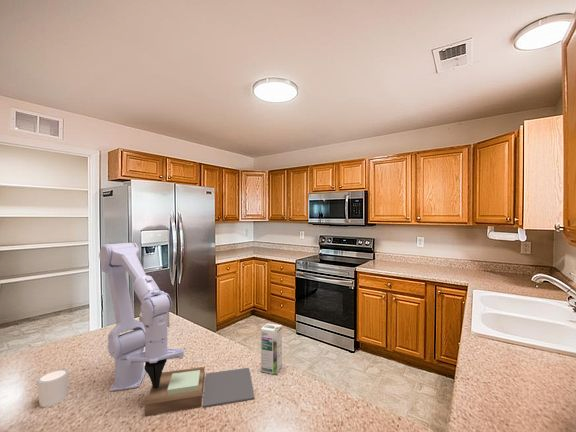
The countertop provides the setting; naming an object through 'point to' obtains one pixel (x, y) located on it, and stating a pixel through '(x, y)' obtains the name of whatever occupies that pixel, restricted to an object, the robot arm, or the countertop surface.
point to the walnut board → (176, 402)
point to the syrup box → (271, 348)
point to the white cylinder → (52, 387)
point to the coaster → (184, 382)
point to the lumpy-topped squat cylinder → (144, 324)
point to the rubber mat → (228, 387)
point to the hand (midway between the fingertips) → (156, 386)
